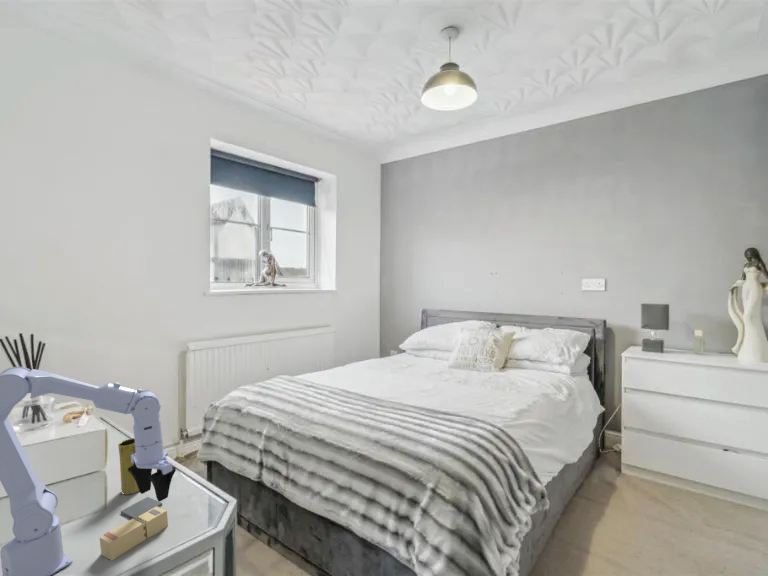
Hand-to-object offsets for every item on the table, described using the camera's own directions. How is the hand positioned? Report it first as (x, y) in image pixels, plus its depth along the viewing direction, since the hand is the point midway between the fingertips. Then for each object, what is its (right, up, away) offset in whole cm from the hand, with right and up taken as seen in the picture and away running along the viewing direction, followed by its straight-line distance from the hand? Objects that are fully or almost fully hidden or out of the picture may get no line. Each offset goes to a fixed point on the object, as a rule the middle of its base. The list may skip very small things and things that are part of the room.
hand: (154, 495), depth 96 cm
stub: (0, -8, 0) cm, 8 cm away
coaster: (-8, -8, +8) cm, 14 cm away
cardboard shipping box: (-3, -9, -6) cm, 11 cm away
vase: (-17, -8, +19) cm, 27 cm away
